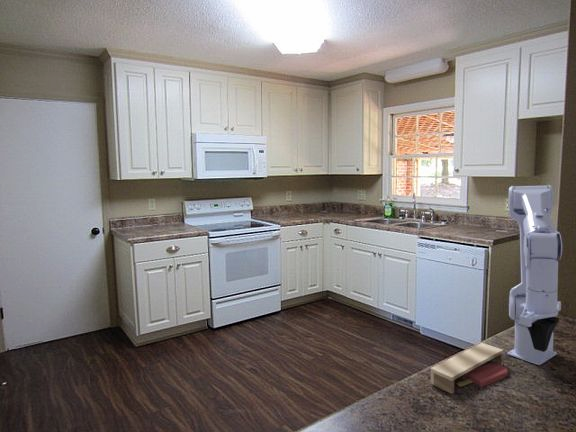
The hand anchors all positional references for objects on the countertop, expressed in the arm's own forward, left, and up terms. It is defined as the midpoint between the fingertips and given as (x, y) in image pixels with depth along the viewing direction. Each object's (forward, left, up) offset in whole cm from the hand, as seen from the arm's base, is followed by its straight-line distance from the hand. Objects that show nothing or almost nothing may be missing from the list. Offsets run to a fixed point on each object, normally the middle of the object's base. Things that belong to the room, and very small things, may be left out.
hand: (540, 349), depth 89 cm
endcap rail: (+5, -14, -9) cm, 17 cm away
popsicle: (+4, -11, -10) cm, 15 cm away
